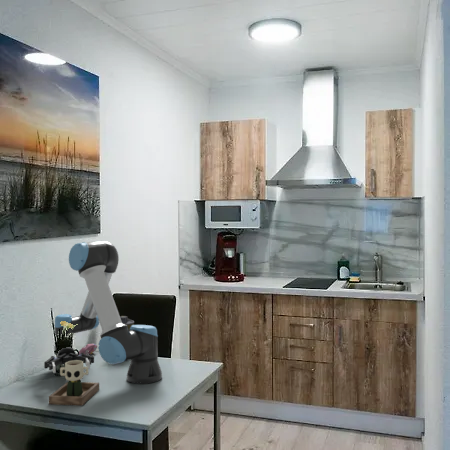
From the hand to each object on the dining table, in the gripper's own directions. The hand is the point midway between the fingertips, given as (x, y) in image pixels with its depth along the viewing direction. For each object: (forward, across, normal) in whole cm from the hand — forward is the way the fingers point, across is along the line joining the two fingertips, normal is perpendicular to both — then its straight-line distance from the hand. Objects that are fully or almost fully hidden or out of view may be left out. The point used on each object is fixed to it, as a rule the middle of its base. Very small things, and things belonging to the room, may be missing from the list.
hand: (71, 367), depth 216 cm
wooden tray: (+8, 0, -10) cm, 12 cm away
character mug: (+8, 0, -9) cm, 12 cm away
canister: (-42, -30, -10) cm, 53 cm away
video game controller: (-52, -14, -10) cm, 54 cm away
